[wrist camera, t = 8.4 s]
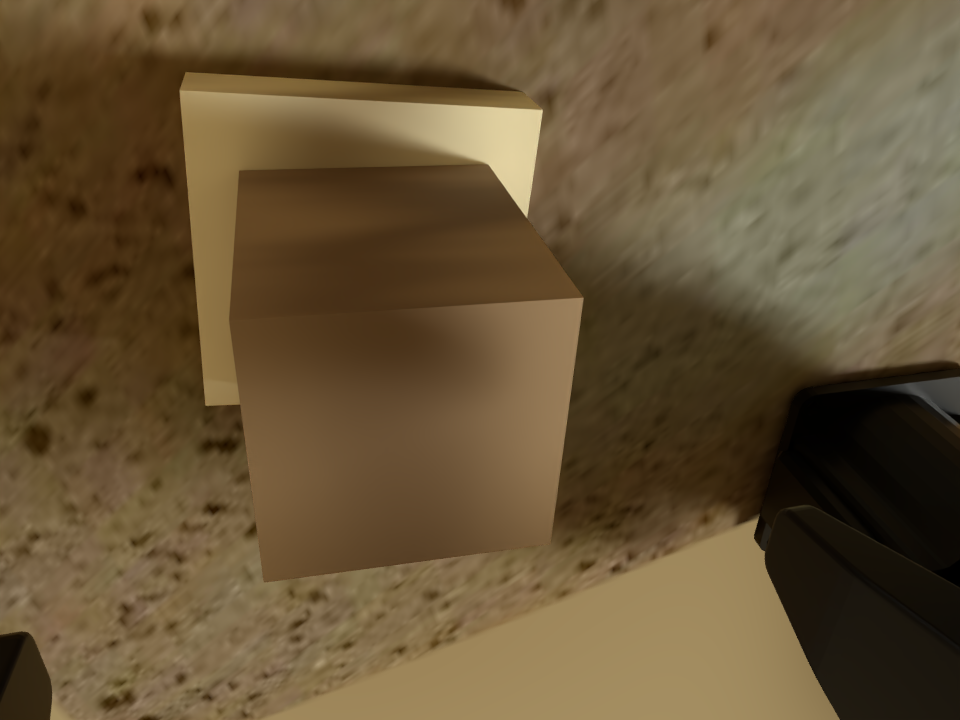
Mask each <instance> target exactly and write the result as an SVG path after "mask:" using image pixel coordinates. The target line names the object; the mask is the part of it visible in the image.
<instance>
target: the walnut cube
mask: <svg viewBox="0 0 960 720" xmlns="http://www.w3.org/2000/svg"><path fill="white" fill-rule="evenodd" d="M583 299H584V297H583V296H582V295H581V293H580V292H579V290H578V289H577V288H576V286H575V285H574V283H573V282H572V281H571V279H570V278H569V276H568V275H567V274H566V272H565V271H564V269H563V268H562V267H561V265H560V264H559V262H558V261H557V260H556V258H555V257H554V255H553V254H552V253H551V251H550V250H549V248H548V247H547V246H546V244H545V243H544V242H543V240H542V239H541V237H540V236H539V235H538V233H537V232H536V230H535V229H534V228H533V226H532V225H531V223H530V222H529V221H528V219H527V218H526V216H525V215H524V214H523V212H522V211H521V209H520V208H519V207H518V205H517V204H516V202H515V201H514V200H513V198H512V197H511V195H510V194H509V193H508V191H507V190H506V188H505V187H504V186H503V184H502V183H501V181H500V180H499V179H498V177H497V176H496V174H495V173H494V172H493V170H492V169H491V167H490V166H489V165H488V164H477V165H437V166H398V167H358V168H319V169H279V170H240V171H239V178H238V193H237V208H236V223H235V238H234V253H233V268H232V283H231V297H230V312H229V325H230V332H231V340H232V347H233V355H234V362H235V370H236V377H237V385H238V392H239V400H240V407H241V415H242V422H243V430H244V437H245V445H246V452H247V460H248V467H249V475H250V482H251V490H252V497H253V505H254V512H255V520H256V527H257V535H258V542H259V550H260V557H261V565H262V572H263V580H264V582H272V581H279V580H287V579H294V578H302V577H309V576H316V575H324V574H331V573H339V572H346V571H354V570H361V569H369V568H376V567H384V566H391V565H398V564H406V563H413V562H421V561H428V560H436V559H443V558H451V557H458V556H466V555H473V554H480V553H488V552H495V551H503V550H510V549H518V548H525V547H533V546H540V545H548V544H550V543H551V536H552V529H553V521H554V514H555V506H556V499H557V492H558V484H559V477H560V469H561V462H562V455H563V447H564V440H565V432H566V425H567V417H568V410H569V403H570V395H571V388H572V380H573V373H574V366H575V358H576V351H577V343H578V336H579V329H580V321H581V314H582V306H583Z"/></svg>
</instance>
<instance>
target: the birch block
mask: <svg viewBox="0 0 960 720" xmlns="http://www.w3.org/2000/svg"><path fill="white" fill-rule="evenodd" d="M180 103H181V115H182V127H183V139H184V151H185V163H186V175H187V188H188V200H189V212H190V224H191V236H192V248H193V260H194V273H195V285H196V297H197V309H198V321H199V333H200V345H201V358H202V370H203V382H204V394H205V406H214V405H239V404H240V400H239V392H238V385H237V377H236V370H235V362H234V355H233V347H232V340H231V332H230V325H229V312H230V297H231V283H232V268H233V253H234V238H235V223H236V208H237V193H238V178H239V171H240V170H279V169H319V168H358V167H398V166H437V165H477V164H488V165H489V166H490V167H491V169H492V170H493V172H494V173H495V174H496V176H497V177H498V179H499V180H500V181H501V183H502V184H503V186H504V187H505V188H506V190H507V191H508V193H509V194H510V195H511V197H512V198H513V200H514V201H515V202H516V204H517V205H518V207H519V208H520V209H521V211H522V212H523V214H524V215H525V216H526V218H527V214H528V208H529V201H530V194H531V187H532V180H533V173H534V167H535V160H536V153H537V146H538V139H539V133H540V126H541V119H542V112H543V110H542V109H541V108H540V107H539V106H538V105H537V104H536V103H535V102H533V101H532V100H531V99H530V98H529V97H528V96H527V95H526V94H525V93H523V92H519V91H501V90H484V89H467V88H450V87H433V86H416V85H399V84H382V83H365V82H348V81H330V80H313V79H296V78H279V77H262V76H245V75H228V74H211V73H194V72H186V73H185V76H184V79H183V81H182V84H181V87H180Z"/></svg>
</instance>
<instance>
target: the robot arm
mask: <svg viewBox="0 0 960 720" xmlns="http://www.w3.org/2000/svg"><path fill="white" fill-rule="evenodd" d="M811 403H812V404H811ZM810 404H811V405H810ZM808 405H809V406H808ZM754 539H755V541H756V542H757V544H758V545H759V546H760V548H761V549H762V550H763V551H765V565H766V569H767V572H768V574H769V576H770V579H771V581H772V583H773V585H774V587H775V590H776V592H777V594H778V596H779V598H780V600H781V603H782V605H783V607H784V610H785V612H786V614H787V616H788V618H789V621H790V623H791V625H792V627H793V629H794V632H795V634H796V636H797V638H798V640H799V642H800V645H801V647H802V649H803V651H804V653H805V655H806V658H807V660H808V662H809V664H810V666H811V668H812V670H813V672H814V674H815V676H816V678H817V680H818V682H819V683H820V685H821V687H822V689H823V691H824V693H825V694H826V696H827V698H828V700H829V701H830V703H831V705H832V706H833V708H834V710H835V712H836V713H837V715H838V717H839V719H840V720H960V369H954V370H945V371H937V372H929V373H921V374H913V375H905V376H897V377H889V378H881V379H873V380H865V381H857V382H848V383H840V384H832V385H824V386H816V387H809V388H806V389H804V390H802V391H800V392H799V393H798V394H797V395H796V396H795V397H794V399H793V401H792V404H791V407H790V411H789V414H788V418H787V421H786V425H785V428H784V432H783V435H782V439H781V442H780V446H779V449H778V453H777V456H776V460H775V464H774V467H773V471H772V474H771V478H770V481H769V485H768V488H767V492H766V495H765V499H764V502H763V506H762V509H761V513H760V516H759V520H758V523H757V527H756V530H755V534H754ZM51 704H52V686H51V680H50V677H49V674H48V672H47V669H46V667H45V665H44V662H43V660H42V657H41V655H40V652H39V650H38V648H37V645H36V643H35V640H34V638H33V637H32V635H30V634H29V633H28V632H16V633H9V634H3V635H0V720H50V713H51Z"/></svg>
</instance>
